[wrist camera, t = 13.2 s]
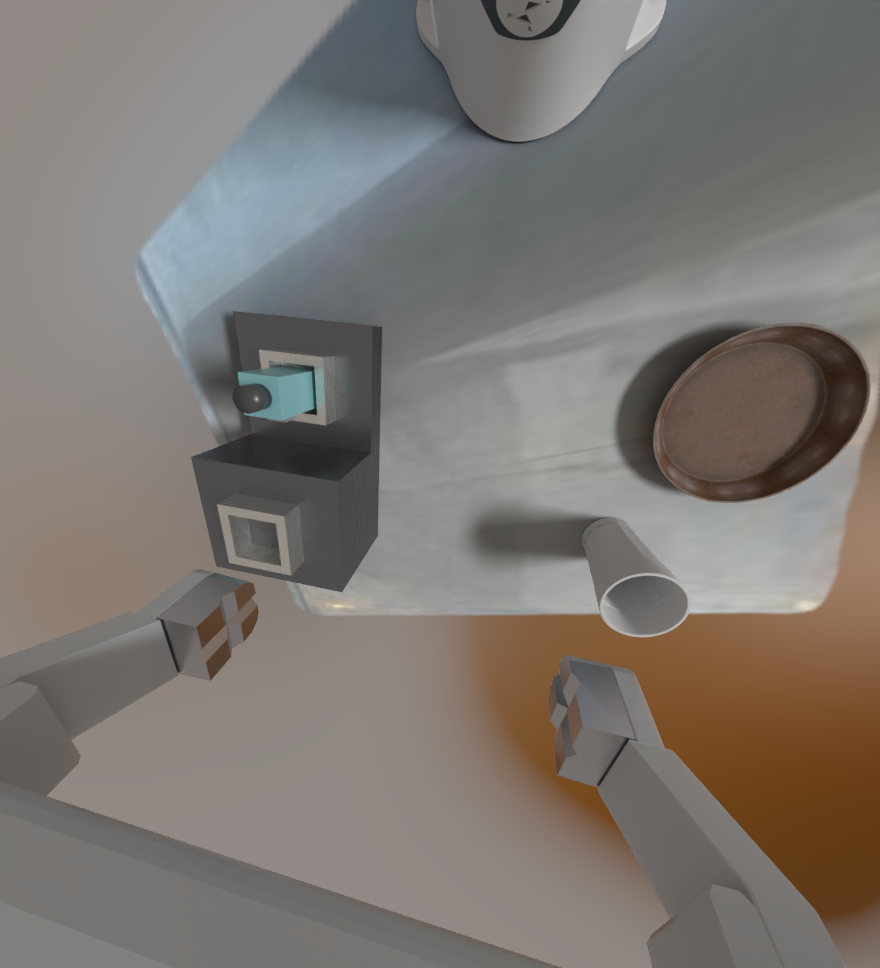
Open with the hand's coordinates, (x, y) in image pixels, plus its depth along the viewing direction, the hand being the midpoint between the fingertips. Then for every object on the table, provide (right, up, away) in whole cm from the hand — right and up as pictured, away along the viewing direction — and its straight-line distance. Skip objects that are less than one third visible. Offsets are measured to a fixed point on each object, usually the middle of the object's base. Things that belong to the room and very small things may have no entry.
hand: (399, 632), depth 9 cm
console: (-15, +10, +35) cm, 40 cm away
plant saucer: (+32, +11, +27) cm, 43 cm away
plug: (-15, +15, +30) cm, 36 cm away
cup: (+23, -3, +34) cm, 41 cm away
